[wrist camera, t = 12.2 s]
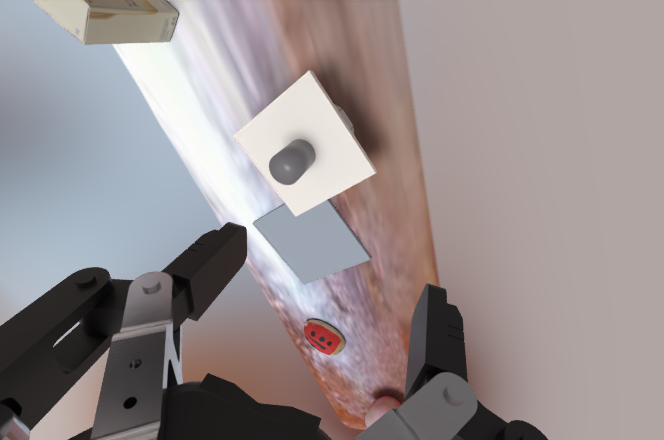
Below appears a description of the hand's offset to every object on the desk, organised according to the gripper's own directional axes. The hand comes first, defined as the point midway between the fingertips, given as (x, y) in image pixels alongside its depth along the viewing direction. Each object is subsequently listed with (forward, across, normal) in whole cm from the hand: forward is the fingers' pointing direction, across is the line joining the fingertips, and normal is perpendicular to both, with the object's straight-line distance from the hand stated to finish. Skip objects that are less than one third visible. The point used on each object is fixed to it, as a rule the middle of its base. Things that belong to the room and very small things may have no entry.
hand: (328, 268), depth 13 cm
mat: (+30, +9, +23) cm, 39 cm away
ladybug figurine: (+31, +3, +46) cm, 56 cm away
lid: (+24, +10, +6) cm, 27 cm away
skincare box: (+30, +34, -6) cm, 46 cm away
